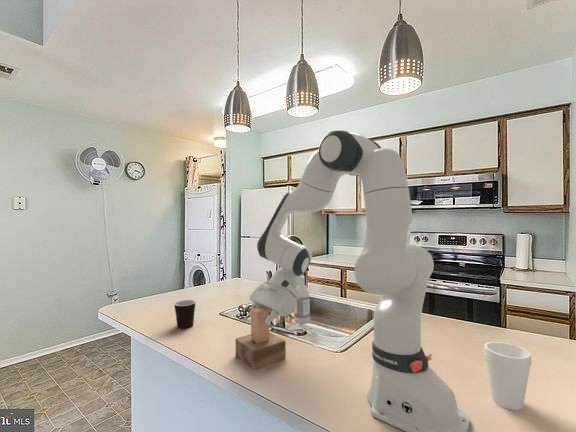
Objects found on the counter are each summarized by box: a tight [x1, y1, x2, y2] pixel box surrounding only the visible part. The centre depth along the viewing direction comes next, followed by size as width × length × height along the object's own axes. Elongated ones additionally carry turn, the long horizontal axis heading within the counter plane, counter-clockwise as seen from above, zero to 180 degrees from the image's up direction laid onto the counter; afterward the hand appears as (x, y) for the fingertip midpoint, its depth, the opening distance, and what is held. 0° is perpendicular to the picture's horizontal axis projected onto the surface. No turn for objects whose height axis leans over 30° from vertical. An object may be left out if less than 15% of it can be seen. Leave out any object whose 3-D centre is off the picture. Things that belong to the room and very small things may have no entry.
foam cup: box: [483, 340, 532, 411], centre depth 74 cm, size 10×9×13 cm
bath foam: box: [293, 275, 311, 325], centre depth 131 cm, size 7×7×20 cm
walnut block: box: [235, 331, 287, 371], centre depth 99 cm, size 12×12×6 cm
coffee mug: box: [174, 299, 196, 330], centre depth 129 cm, size 12×9×10 cm
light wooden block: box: [250, 306, 270, 343], centre depth 99 cm, size 4×4×10 cm
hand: (257, 319), depth 99 cm, fingers open, 8 cm apart
